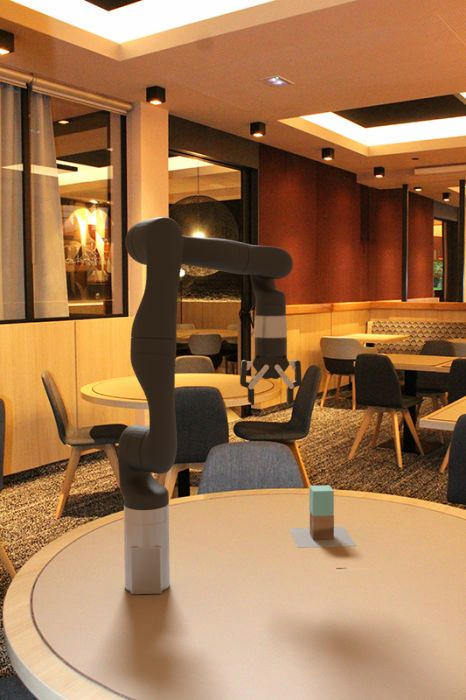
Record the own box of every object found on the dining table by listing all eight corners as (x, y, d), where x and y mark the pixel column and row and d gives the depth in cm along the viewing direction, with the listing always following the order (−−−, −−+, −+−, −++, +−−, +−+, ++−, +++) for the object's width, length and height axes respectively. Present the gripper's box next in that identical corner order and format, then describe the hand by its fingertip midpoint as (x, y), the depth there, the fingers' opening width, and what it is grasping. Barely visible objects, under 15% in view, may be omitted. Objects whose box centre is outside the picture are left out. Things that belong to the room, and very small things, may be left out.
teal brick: (333, 515, 171) (333, 490, 170) (313, 515, 170) (313, 491, 170) (329, 509, 176) (329, 485, 175) (309, 509, 175) (309, 485, 175)
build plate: (356, 549, 167) (356, 545, 167) (297, 550, 166) (297, 547, 166) (343, 529, 181) (343, 526, 181) (288, 531, 180) (288, 528, 180)
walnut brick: (333, 539, 171) (334, 515, 171) (313, 540, 171) (313, 515, 170) (329, 532, 176) (329, 509, 176) (309, 533, 176) (309, 509, 175)
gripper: (241, 336, 161) (241, 407, 162) (303, 336, 162) (303, 406, 163) (238, 334, 168) (239, 402, 169) (298, 334, 169) (298, 401, 170)
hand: (270, 404), depth 166 cm, fingers open, 8 cm apart
